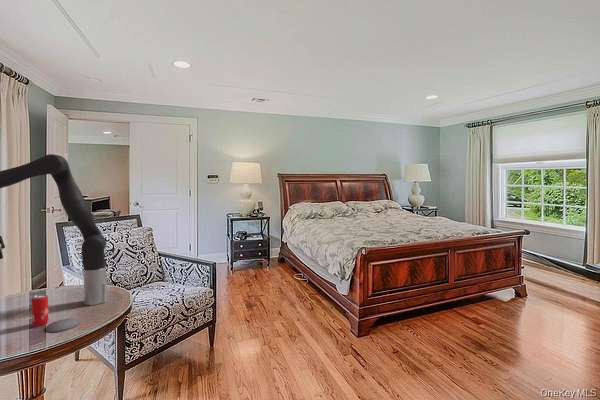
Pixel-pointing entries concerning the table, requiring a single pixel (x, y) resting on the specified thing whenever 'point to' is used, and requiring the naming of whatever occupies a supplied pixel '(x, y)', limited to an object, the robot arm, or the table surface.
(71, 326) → the rubber mat
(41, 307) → the beverage can
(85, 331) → the table surface
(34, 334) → the table surface
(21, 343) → the table surface
